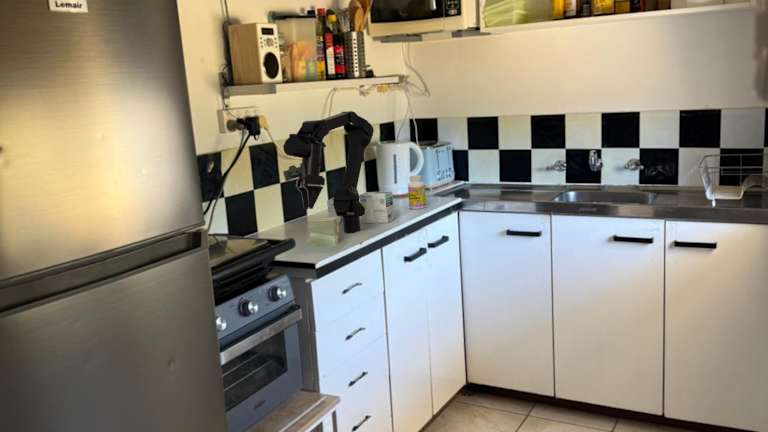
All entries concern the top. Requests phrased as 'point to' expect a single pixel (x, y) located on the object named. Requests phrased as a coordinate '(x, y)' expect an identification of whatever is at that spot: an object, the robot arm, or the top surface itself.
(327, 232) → the tile block
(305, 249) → the slate mat
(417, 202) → the supplement bottle
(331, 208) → the medicine box
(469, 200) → the top surface
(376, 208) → the light bulb box
